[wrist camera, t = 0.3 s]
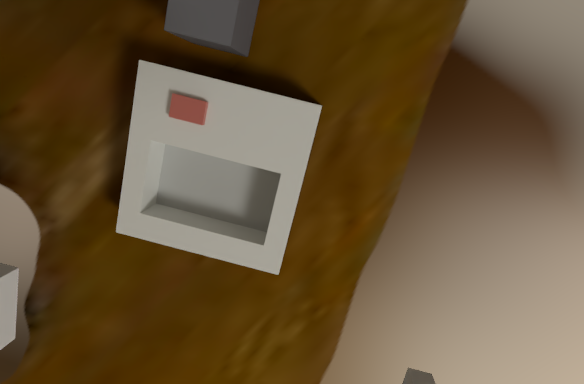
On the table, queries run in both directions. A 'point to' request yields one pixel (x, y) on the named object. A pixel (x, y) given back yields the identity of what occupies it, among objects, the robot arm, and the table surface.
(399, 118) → the table surface
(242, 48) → the plug
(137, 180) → the socket plate
